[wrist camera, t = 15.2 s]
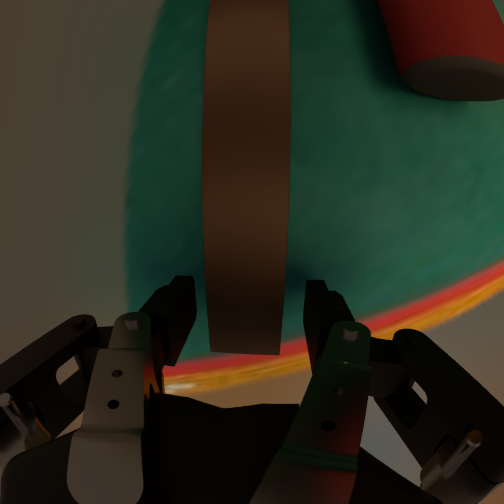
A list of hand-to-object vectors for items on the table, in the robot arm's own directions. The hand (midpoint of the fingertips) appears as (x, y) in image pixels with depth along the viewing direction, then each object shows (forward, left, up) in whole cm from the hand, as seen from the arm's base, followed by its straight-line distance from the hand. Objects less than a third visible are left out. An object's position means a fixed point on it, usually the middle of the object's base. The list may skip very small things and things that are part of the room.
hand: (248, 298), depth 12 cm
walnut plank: (-7, 0, -3) cm, 7 cm away
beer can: (-10, +10, +1) cm, 14 cm away
